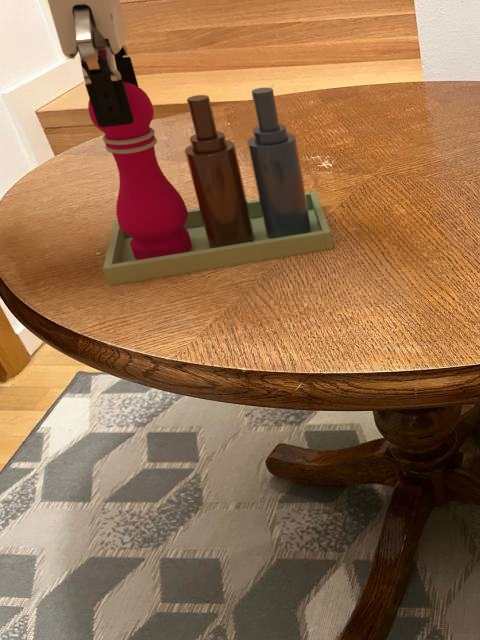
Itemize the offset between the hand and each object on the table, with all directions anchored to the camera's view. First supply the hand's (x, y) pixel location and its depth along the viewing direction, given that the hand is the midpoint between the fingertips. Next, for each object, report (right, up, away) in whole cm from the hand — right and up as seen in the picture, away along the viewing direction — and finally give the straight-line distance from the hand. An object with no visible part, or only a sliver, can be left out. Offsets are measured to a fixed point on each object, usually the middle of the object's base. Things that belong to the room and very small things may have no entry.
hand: (121, 110), depth 74 cm
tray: (+7, -12, +11) cm, 18 cm away
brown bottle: (+8, -12, +11) cm, 18 cm away
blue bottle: (+14, -10, +12) cm, 21 cm away
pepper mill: (+1, -13, +9) cm, 16 cm away
